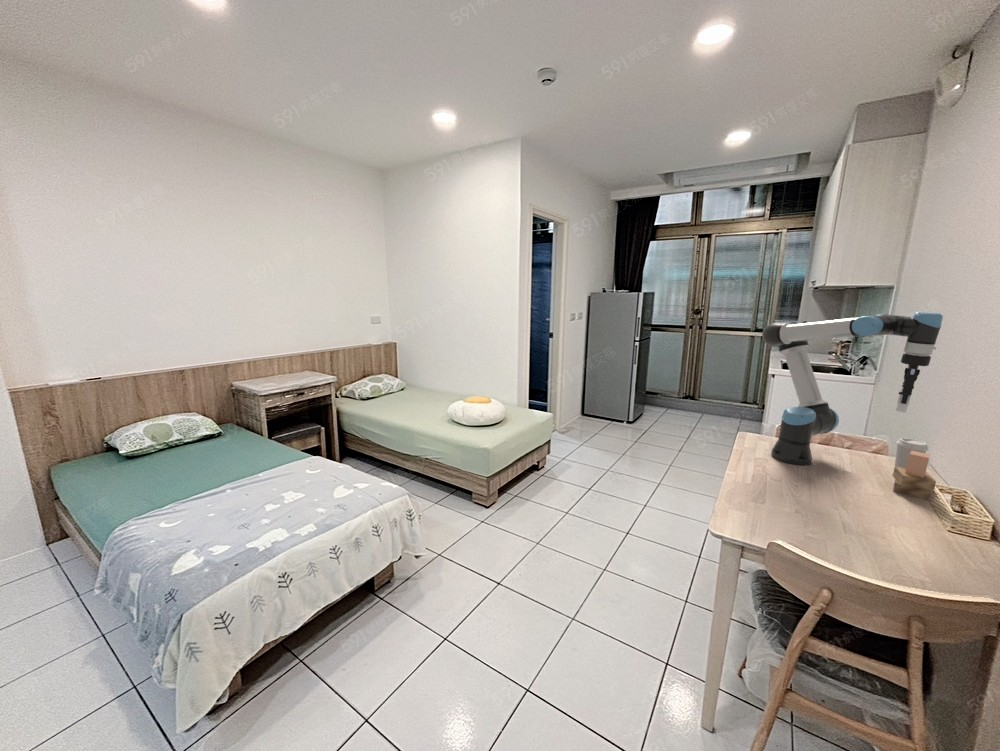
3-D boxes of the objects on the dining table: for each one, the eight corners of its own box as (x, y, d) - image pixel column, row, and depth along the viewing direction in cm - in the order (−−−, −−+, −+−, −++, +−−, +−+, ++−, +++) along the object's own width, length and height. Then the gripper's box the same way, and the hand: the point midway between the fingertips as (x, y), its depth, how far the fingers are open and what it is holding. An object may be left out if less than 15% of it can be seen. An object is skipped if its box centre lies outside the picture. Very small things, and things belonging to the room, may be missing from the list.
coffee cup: (906, 470, 173) (915, 437, 169) (927, 480, 163) (936, 446, 160) (882, 468, 173) (890, 436, 170) (902, 479, 164) (910, 445, 161)
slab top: (900, 485, 152) (903, 475, 151) (892, 475, 159) (894, 466, 159) (933, 491, 147) (936, 481, 147) (923, 481, 155) (926, 471, 154)
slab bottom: (892, 492, 154) (895, 482, 154) (893, 484, 161) (896, 475, 160) (928, 501, 148) (930, 492, 147) (927, 493, 154) (930, 483, 153)
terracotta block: (905, 473, 153) (909, 453, 151) (906, 469, 156) (911, 450, 154) (923, 478, 149) (929, 458, 147) (925, 474, 152) (930, 454, 150)
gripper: (932, 360, 139) (914, 417, 144) (930, 351, 156) (915, 403, 161) (902, 356, 144) (886, 412, 149) (904, 348, 161) (889, 398, 166)
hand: (901, 407), depth 155 cm, fingers open, 13 cm apart
